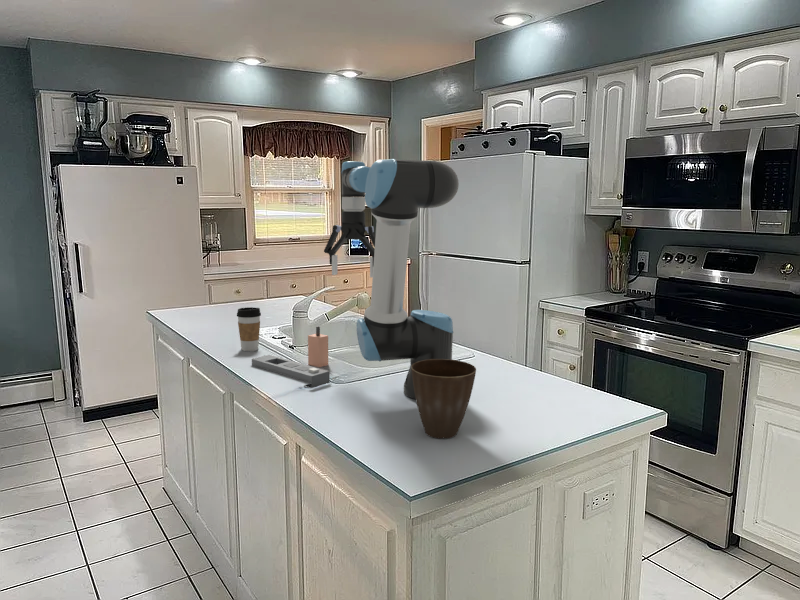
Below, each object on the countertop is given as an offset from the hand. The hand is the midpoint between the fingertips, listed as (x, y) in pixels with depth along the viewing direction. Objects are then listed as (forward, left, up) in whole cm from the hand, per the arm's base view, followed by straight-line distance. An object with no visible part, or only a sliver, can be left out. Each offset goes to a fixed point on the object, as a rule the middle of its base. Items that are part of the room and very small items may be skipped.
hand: (353, 275), depth 201 cm
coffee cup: (+38, +14, -29) cm, 50 cm away
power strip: (+2, +26, -29) cm, 39 cm away
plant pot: (-60, +32, -29) cm, 74 cm away
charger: (+1, +15, -29) cm, 32 cm away
